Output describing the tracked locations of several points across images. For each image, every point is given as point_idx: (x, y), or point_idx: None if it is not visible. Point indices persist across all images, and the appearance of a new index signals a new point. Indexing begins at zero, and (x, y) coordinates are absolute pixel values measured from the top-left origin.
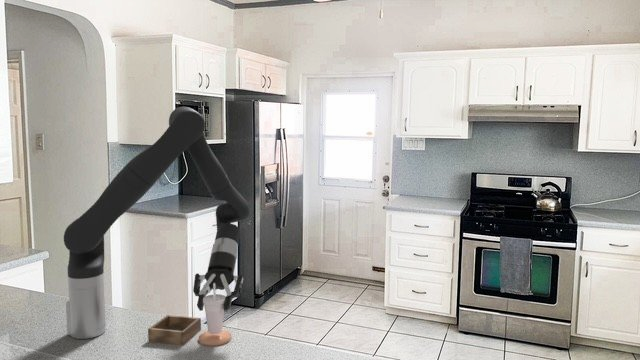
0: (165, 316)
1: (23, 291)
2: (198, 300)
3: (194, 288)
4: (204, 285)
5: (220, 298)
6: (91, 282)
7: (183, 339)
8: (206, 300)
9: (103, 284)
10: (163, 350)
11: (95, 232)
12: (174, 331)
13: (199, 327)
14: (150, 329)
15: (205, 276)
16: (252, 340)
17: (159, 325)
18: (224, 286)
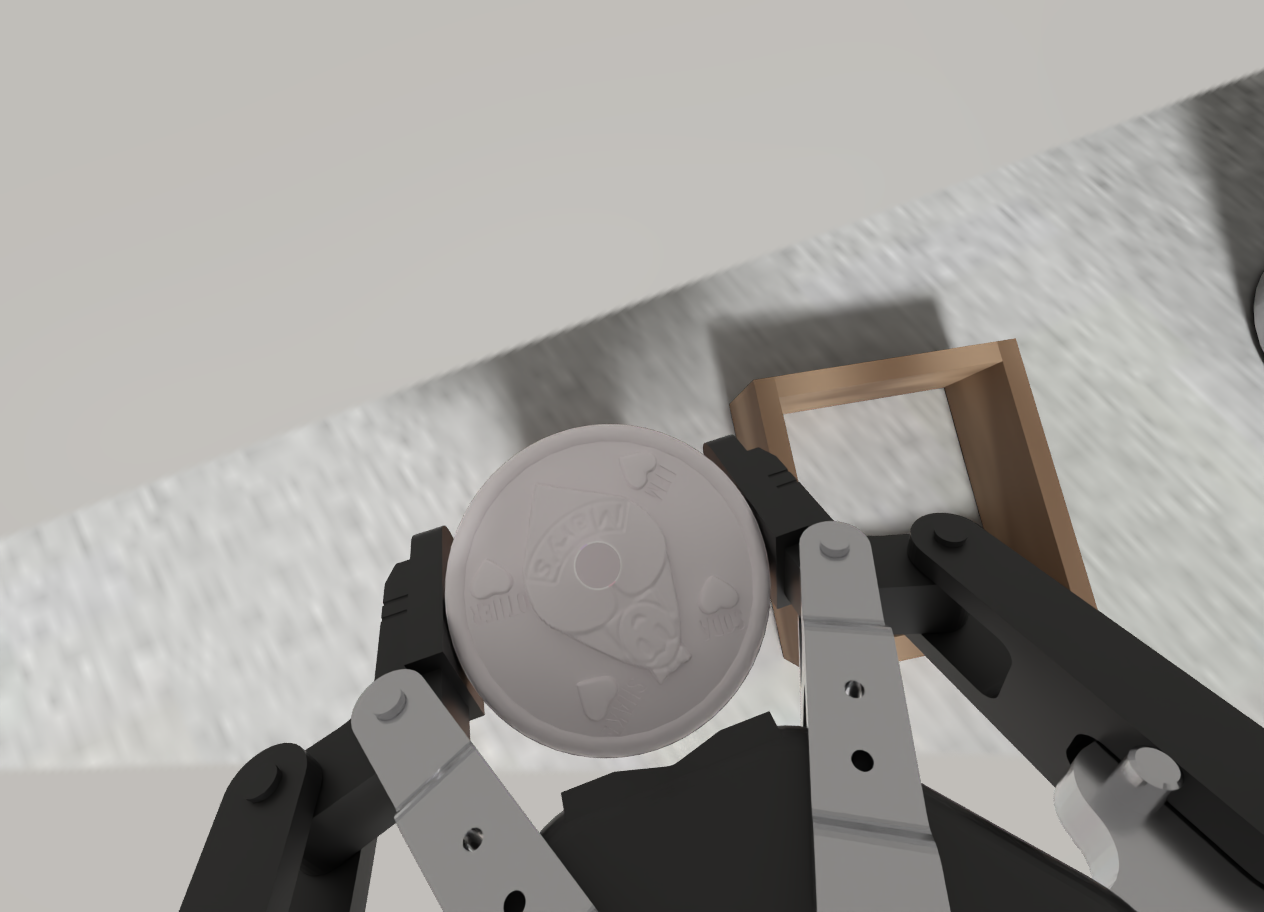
0: (1089, 584)
1: None
2: (796, 489)
3: (996, 554)
4: (875, 631)
5: (528, 614)
6: None
7: (739, 394)
8: (662, 463)
9: None
10: (787, 300)
11: None
12: (822, 370)
13: (788, 639)
14: (997, 343)
15: (1103, 897)
16: (330, 651)
17: (1015, 461)
18: (478, 771)
